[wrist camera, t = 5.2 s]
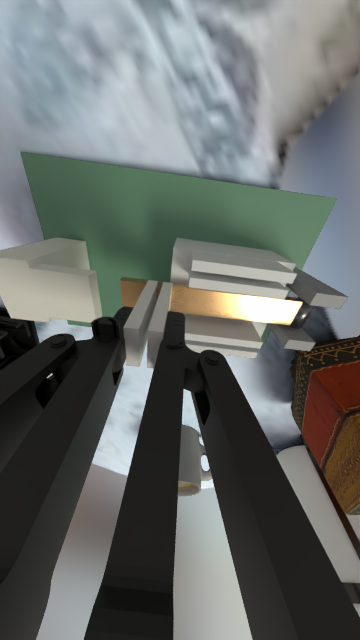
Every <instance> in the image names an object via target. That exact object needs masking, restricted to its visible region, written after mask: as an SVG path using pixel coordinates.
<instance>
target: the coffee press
mask: <svg viewBox="0 0 360 640" xmlns="http://www.w3.org/2000/svg"><path fill="white" fill-rule="evenodd" d="M300 439H301V445H300V446H295V447H290V448H287V449H284V450H282V451H281V452H277V451H276V450H274V449H273V448H272V449H273V451H274V453H275V454H277V456H276V457H277V459H278V461H279V463H280V465H281V467H282V468H283V470H284V472H285V474H286V476H287V478H288V480H289V482H290V484H291V486H292V488H293V490H294V492H295V493H296V495H297V497H298V499H299V501H300V503H301V505H302V507H303V509H304V511H305V513H306V515H307V517H308V519H309V520H310V522H311V524H312V526H313V528H314V530H315V532H316V534H317V536H318V538H319V540H320V542H321V544H322V545H323V547H324V549H325V551H326V553H327V555H328V557H329V559H330V561H331V563H332V565H333V567H334V569H335V570H336V572H337V574H338V576H339V578H340V580H341V582H342V584H343V586H344V588H345V590H346V592H347V594H348V596H349V597H350V599H351V601H352V603H353V605H354V607H355V609H356V611H357V613H358V615H359V617H360V515H348V514H346V513H345V512H344V511H343V510H342V508H341V506H340V504H339V503H338V501H337V499H336V497H335V495H334V494H333V492H332V490H331V488H330V486H329V484H328V482H327V480H326V478H325V476H324V474H323V472H322V470H321V469H320V467H319V465H318V463H317V461H316V459H315V457H314V456H313V454H312V452H311V450H310V448H309V447H308V445H307V443H306V441H305V439H304V437H303V435H300Z"/></svg>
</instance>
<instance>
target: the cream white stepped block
mask: <svg viewBox="0 0 360 640" xmlns="http://www.w3.org/2000/svg"><path fill="white" fill-rule="evenodd" d="M0 296H1V298H2V300H3V303H4V305H5V307H6V309H7V311H8V313H9V315H10V317H11V318H15V319H23V320H31V321H40V322H50V321H51V320H52V319H53V318H55V319H64V320H72V321H80V322H89V323H91V322H92V321H93V320H95V319H97V318H100V317H102V310H101V303H100V296H99V289H98V282H97V275H96V271H95V270H90V265H89V259H88V253H87V246H86V241H80V240H73V239H66V238H58V237H56V238H52V239H47V240H43V241H39V242H34V243H30V244H26V245H21V246H17V247H13V248H8V249H4V250H0Z"/></svg>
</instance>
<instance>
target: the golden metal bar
mask: <svg viewBox="0 0 360 640" xmlns="http://www.w3.org/2000/svg"><path fill="white" fill-rule="evenodd" d="M152 281H153V280H152ZM147 282H148V280H145V279H137V278H128V277H122V278H121V279H120V289H121V303H122V306H127V307H134V306H135V304H136V303H137V301H138V299H139V297H140V295H141V293H142V291H143V289H144V287H145V286H146V284H147ZM168 283H169V282H168ZM162 285H163V282H161V281H158V287H157V300H158V297H159V294H160V291H161V288H162ZM313 308H314V306H313V305H309V304H308V303H306V302H305V301H304V300H303V299H301V298H300V297H298V298H292V297H285V299H277V298H269V297H261V296H254V295H246V294H238V293H230V292H223V291H215V290H207V289H199V288H192V287H189V285H186V284H177V283H173V285H172V295H171V305H170V311H172V312H180V313H187V314H195V315H204V316H213V317H221V318H230V319H239V320H248V321H256V322H265V323H274V324H283V325H288V326H290V327H292V328H295V329H300V328H301V327H302V326H303V324H304V322H305V321H306V319H307V317H308V316H309V314H310V313H311V311H312V309H313Z"/></svg>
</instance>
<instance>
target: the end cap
mask: <svg viewBox="0 0 360 640" xmlns="http://www.w3.org/2000/svg"><path fill="white" fill-rule="evenodd" d="M38 344H40V343H39V339H38V335H37V331H36V327H35V323H34V321H31V320H23V319H15V318H11V317H10V315H9V313H8V311H7V309H5V308H0V370H2V369H3V368H5V367H6V366H8V365H9V364H11V363H12V362H13V361H15V360H16V359H18V358H19V357H21V356H22V355H24V354H25V353H27V352H28V351H30V350H31V349H33V348H34V347H35V346H37V345H38Z"/></svg>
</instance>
